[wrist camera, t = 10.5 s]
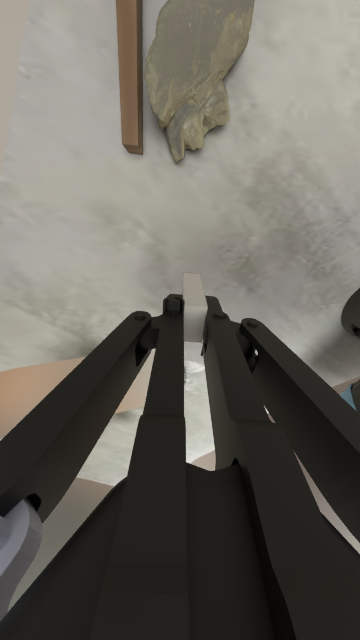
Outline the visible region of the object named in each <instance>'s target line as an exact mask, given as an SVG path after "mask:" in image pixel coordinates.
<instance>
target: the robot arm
mask: <svg viewBox="0 0 360 640" xmlns="http://www.w3.org/2000/svg"><path fill="white" fill-rule="evenodd" d="M342 324H343V327H344V328H345V330H346V331H348V332H349V333H351V334H352V335H353V336H355V337H357V338H359V339H360V289H359V290H358V291H357V292H356V293H355V294H354V295H353V296H352V297H351V299H350V300H349V301H348V303H347V304H346V306H345V308H344V311H343V314H342ZM202 339H203V347H202V352H201V356H204V364H205V372H206V380H207V388H208V396H209V404H210V412H211V420H212V428H213V436H214V445H215V453H216V466H215V471H208V470H205V469H202V468H200V467H197V466H195V465H192V464H189V463H186V427H185V418H184V341H187V342H202ZM154 348H156V350H155V356H154V361H153V366H152V371H151V376H150V381H149V386H148V391H147V396H146V402H145V407H144V411H143V415H141V416H140V419H139V423H138V427H137V432H136V437H135V441H134V446H133V451H132V456H131V461H130V465H129V470H128V475H127V477H125V478H124V479H123V480H121V481H120V482H119V483H118V484H117V485H116V486H115V487H114V488H113V489H112V490H111V491H110V492H109V493H108V494H107V495H106V496H105V497H104V499H103V500H102V501H101V502H100V503H99V505H98V506H97V507H96V508H95V510H94V511H93V512H92V513H91V514H90V515H89V517H88V518H87V519H86V520H85V521H84V522H83V524H82V525H81V526H80V527H79V528H78V530H77V531H76V532H75V533H74V534H73V536H72V537H71V538H70V539H69V540H68V542H67V543H66V544H65V545H64V546H63V547H62V549H61V550H60V551H59V552H58V553H57V555H56V556H55V557H54V558H53V559H52V561H51V562H50V563H49V564H48V565H47V567H46V568H45V569H44V570H43V571H42V573H41V574H40V575H39V576H38V577H37V579H36V580H35V581H34V582H33V583H32V584H31V586H30V587H29V588H28V589H27V590H26V592H25V593H24V594H23V595H22V596H21V597H20V599H19V600H18V601H17V602H16V603H15V605H14V606H13V607H12V608H11V609H10V611H9V612H8V613H7V611H8V607H9V604H10V600H11V598H12V596H13V594H14V592H15V590H16V587H17V585H18V583H19V582H20V580H21V578H22V577H23V575H24V574H25V572H26V571H27V569H28V568H29V566H30V564H31V563H32V561H33V560H34V558H35V556H36V553H37V551H38V549H39V547H40V543H41V539H42V530H43V526H42V523H43V522H44V521H45V520H46V518H47V517H48V516H49V515H50V513H51V512H52V511H53V509H54V508H55V507H56V506H57V504H58V503H59V501H60V500H61V499H62V497H63V496H64V495H65V493H66V491H67V490H68V488H69V487H70V485H71V484H72V482H73V481H74V479H75V478H76V476H77V474H78V473H79V471H80V469H81V468H82V466H83V464H84V463H85V461H86V459H87V458H88V456H89V454H90V453H91V451H92V449H93V448H94V446H95V444H96V443H97V441H98V439H99V438H100V436H101V434H102V433H103V431H104V429H105V428H106V426H107V424H108V423H109V421H110V419H111V418H112V416H113V414H114V413H115V411H116V409H117V408H118V406H119V404H120V403H121V401H122V399H123V398H124V396H125V395H126V393H127V391H128V390H129V388H130V386H131V385H132V383H133V381H134V379H135V378H136V376H137V374H138V373H139V371H140V370H141V368H142V366H143V365H144V363H145V361H146V360H147V358H148V356H149V355H150V353H151V350H152V349H154ZM255 350H257V352H258V355H256V354H255ZM263 404H264V405H263ZM264 406H265V407H266V409H267V410H268V412H269V413H270V415H271V416H272V418H273V420H274V421H275V423H272V422H271V421H270V419H269V417H268V415H267V412H266V410H265V407H264ZM293 450H294V451H293ZM294 452H295V453H296V455H297V456H298V458H299V459H300V461H301V462H302V464H303V466H304V467H305V469H306V470H307V472H308V473H309V474H310V476H311V478H312V479H313V481H314V482H315V484H316V486H317V487H318V489H319V490H320V492H321V493H322V495H323V496H324V497H325V499H326V500H327V502H328V503H329V505H330V506H331V507H332V509H333V510H334V512H335V513H336V514H337V516H338V517H339V518H340V519H341V520H342V522H343V523H344V524H345V526H346V527H347V528H348V530H349V531H350V532H351V533H352V534H353V536H354V537H355V538H356V539H357V540H358V541H359V543H360V380H358V381H357V382H355V383H353V384H350V385H349V387H348V388H347V389H346V390H345V391H343V392H342V393H341V394H340V395H339V394H338V393H336V391H335V390H333V389H332V388H331V387H330V386H329V385H328V384H327V383H326V382H325V381H324V380H323V379H322V378H321V377H319V376H318V375H317V374H316V373H315V372H314V371H313V370H312V369H311V368H310V367H309V366H308V365H307V364H305V363H304V362H303V361H302V360H301V359H300V358H299V357H298V356H297V355H296V354H295V353H294V352H293V351H292V350H290V349H289V348H288V347H287V346H286V345H285V344H284V343H283V342H282V341H281V340H280V339H279V338H278V337H276V336H275V335H274V334H273V333H272V332H271V331H270V330H269V329H268V328H267V327H266V326H265V325H264V324H262V323H261V322H260V321H258V320H256V319H253V318H245V319H243V320H242V321H241V323H236V322H233V321H230V319H229V316H228V315H227V314H225V313H224V312H223V311H222V309H221V306H220V303H219V300H218V299H217V298H216V297H213V296H205V293H204V289H203V285H202V280H201V276H200V274H194V273H184V275H183V287H182V295H179V294H170V295H168V296H167V298H165V299H164V300H163V314H162V315H160V316H157V317H151V315H150V314H149V313H148V312H144V311H136V312H133V313H131V314H130V315H129V316H128V317H127V318H126V319H125V320H124V321H123V322H122V323H121V324H120V325H119V326H118V327H117V328H116V329H115V330H114V331H112V332H111V333H110V334H109V335H108V336H107V337H106V338H105V339H104V340H103V341H102V342H101V343H100V344H99V345H98V346H97V347H96V348H95V349H94V350H93V351H92V352H91V353H90V354H89V355H88V356H87V357H86V358H85V359H84V360H83V361H82V362H81V363H80V364H79V365H78V366H77V367H76V368H75V369H74V370H73V371H72V372H71V373H69V374H68V375H67V377H66V378H64V379H63V380H62V381H61V382H60V383H59V384H58V385H57V386H56V387H55V388H54V389H53V390H52V391H51V392H50V393H49V394H48V395H47V396H46V397H45V398H44V399H43V400H42V401H41V402H40V403H39V404H38V405H37V406H36V407H35V408H34V409H33V410H32V411H31V412H30V413H29V414H28V415H26V416H25V417H24V419H22V420H21V421H20V422H19V423H18V424H17V426H15V427H14V428H13V429H12V430H11V431H10V432H9V433H8V434H7V435H6V436H5V437H4V438H3V439H2V440H1V441H0V640H360V554H359V553H358V552H357V551H356V550H355V549H354V548H353V547H352V545H351V544H350V543H349V542H348V541H347V540H346V539H345V538H344V537H343V536H342V535H341V534H340V532H339V531H338V530H336V528H335V527H334V526H333V525H332V524H331V523H330V522H329V521H328V520H327V519H326V517H325V516H324V515H323V514H322V513H321V512H320V510H319V508H318V505H317V503H316V501H315V499H314V496H313V494H312V492H311V490H310V487H309V485H308V483H307V481H306V478H305V476H304V474H303V472H302V469H301V467H300V465H299V463H298V460H297V458H296V456H295V454H294Z"/></svg>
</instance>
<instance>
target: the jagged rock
mask: <svg viewBox="0 0 360 640" xmlns="http://www.w3.org/2000/svg"><path fill="white" fill-rule="evenodd" d="M254 1H255V0H168V1H167V2H166V4H165V5H164V6H163V7H162V8H161V10H160V12H159V16H158V20H157V23H156V25H157V26H156V37H155V39H154V40H153V43H152V45H151V46H150V49H149V53H148V57H147V59H146V71H145V75H144V78H145V80H146V82H147V84H148V92H149V101H150V104H151V108H152V110H153V112H154V113H155V114H156V115H157V116H158V123H159V126H160V128H161V129H163V130H164V128H166V135H167V139H168V142H169V146H170V149H171V152H172V155H173V157H174V161H175V162H176V163H177V162H178V161H179V160H181V159H182V158H184V157H185V151H184V150H185V149H186V148H188V149H191V150H195V149H196V148H197V147H198V148H199V149H201V148H203V147H205V146H204V139H203V137H204V135H205V134H206V133H207V131H208V130H210V129H213V128H214V127H216V126H217V125H225V124H226V123H228V122H229V121H230V113H229V105H228V96H227V92H226V88H225V85H224V82H223V78H224V76H225V75H226V73H227V72H228V71H229V70H230V68H231V67H232V65H233V64H234V62H235V61H236V60H237V59H238V58H239V57H240V55H241V54H242V53H243V51H244V50H245V48H246V46H247V43H248V39H249V31H250V27H251V22H252V15H253V8H254Z"/></svg>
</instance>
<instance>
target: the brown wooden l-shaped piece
mask: <svg viewBox="0 0 360 640" xmlns="http://www.w3.org/2000/svg"><path fill="white" fill-rule="evenodd" d="M116 9H117V33H118V56H119V80H120V103H121V127H122V144H123V145H124V147H125V148H126V150H127V151H128V152H129V153H134V154H141V155H143V71H142V0H116Z"/></svg>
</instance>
